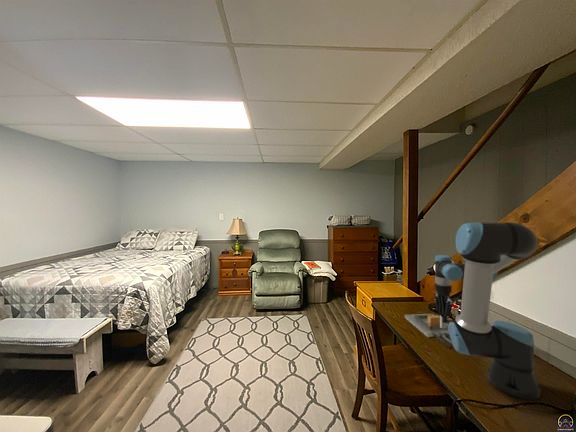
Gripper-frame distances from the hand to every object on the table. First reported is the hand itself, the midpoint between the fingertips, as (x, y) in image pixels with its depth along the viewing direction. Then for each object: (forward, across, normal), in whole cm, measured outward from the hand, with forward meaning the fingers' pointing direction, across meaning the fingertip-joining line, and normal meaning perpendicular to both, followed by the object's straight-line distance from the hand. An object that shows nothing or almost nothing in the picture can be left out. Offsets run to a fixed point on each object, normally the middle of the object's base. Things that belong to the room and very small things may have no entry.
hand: (443, 327), depth 134 cm
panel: (+5, +11, 0) cm, 12 cm away
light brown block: (+2, +8, 0) cm, 8 cm away
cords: (+5, -6, +1) cm, 8 cm away
